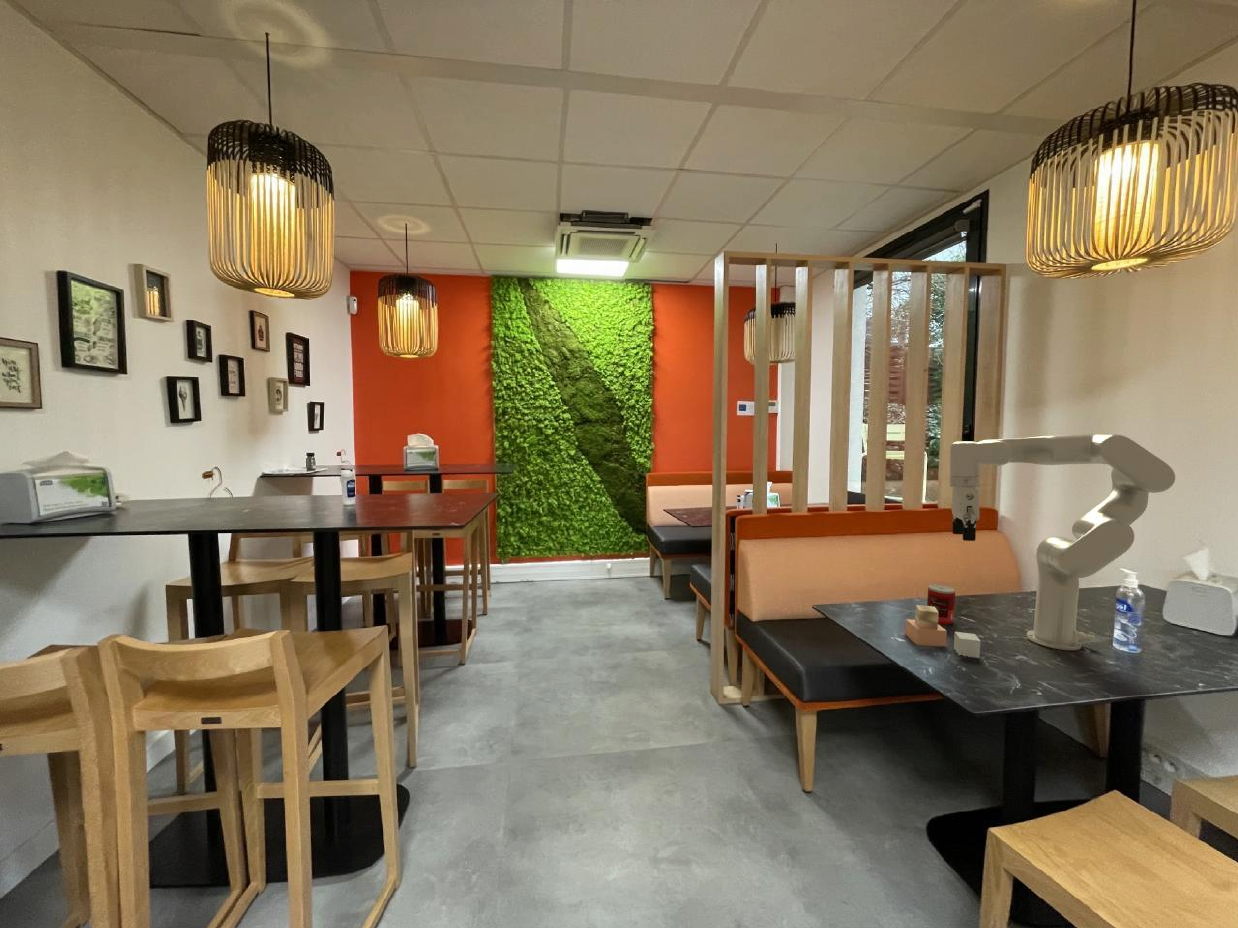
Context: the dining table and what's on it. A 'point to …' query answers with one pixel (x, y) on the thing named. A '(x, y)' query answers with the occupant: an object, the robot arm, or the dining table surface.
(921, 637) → the terracotta block
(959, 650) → the pale green-grey cube
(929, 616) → the maple cube
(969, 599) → the dining table surface
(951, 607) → the canned food
